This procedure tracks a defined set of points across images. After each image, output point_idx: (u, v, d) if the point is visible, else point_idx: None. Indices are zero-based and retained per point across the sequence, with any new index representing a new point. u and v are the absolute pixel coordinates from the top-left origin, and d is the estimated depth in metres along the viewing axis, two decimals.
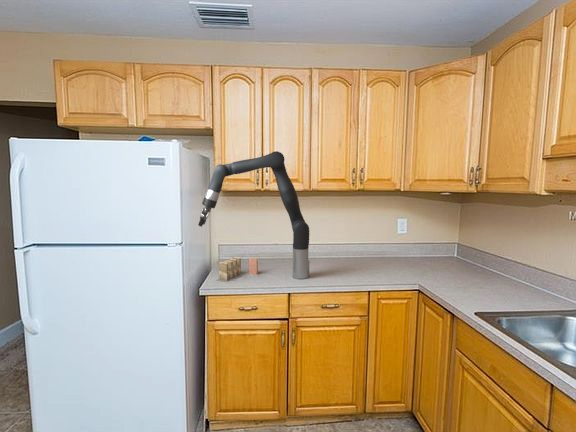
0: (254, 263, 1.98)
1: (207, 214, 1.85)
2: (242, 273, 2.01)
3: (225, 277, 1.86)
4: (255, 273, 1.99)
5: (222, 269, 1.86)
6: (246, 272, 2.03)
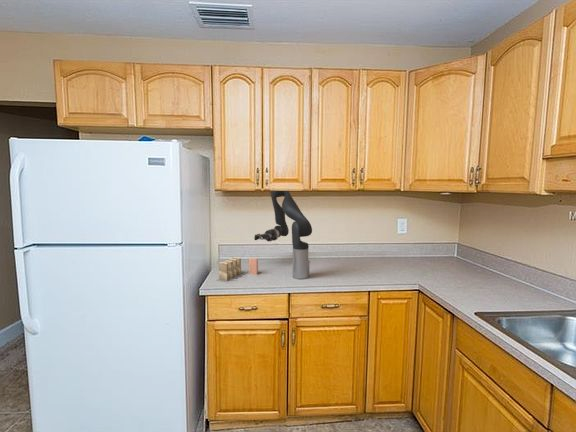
0: (254, 263, 1.98)
1: (261, 234, 2.16)
2: (242, 273, 2.01)
3: (225, 277, 1.86)
4: (255, 273, 1.99)
5: (222, 269, 1.86)
6: (246, 272, 2.03)
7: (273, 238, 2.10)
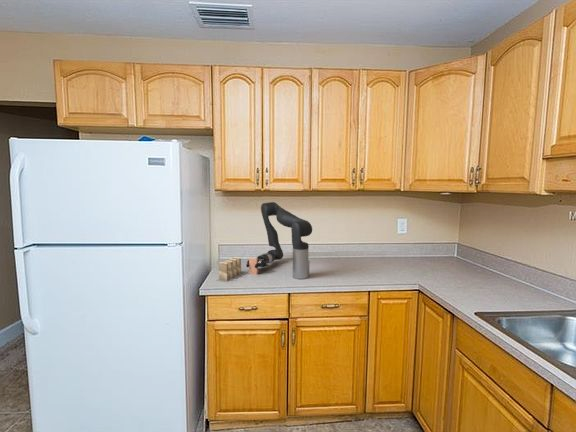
0: (254, 263, 1.98)
1: None
2: (242, 273, 2.01)
3: (225, 277, 1.86)
4: (255, 273, 1.99)
5: (222, 269, 1.86)
6: (246, 272, 2.03)
7: (261, 264, 1.99)
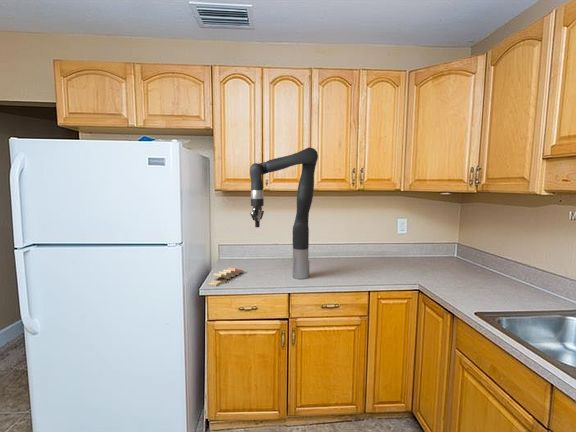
0: (235, 271, 1.96)
1: (258, 214, 1.93)
2: (242, 273, 2.01)
3: None
4: (241, 272, 2.01)
5: None
6: (246, 272, 2.03)
7: None
